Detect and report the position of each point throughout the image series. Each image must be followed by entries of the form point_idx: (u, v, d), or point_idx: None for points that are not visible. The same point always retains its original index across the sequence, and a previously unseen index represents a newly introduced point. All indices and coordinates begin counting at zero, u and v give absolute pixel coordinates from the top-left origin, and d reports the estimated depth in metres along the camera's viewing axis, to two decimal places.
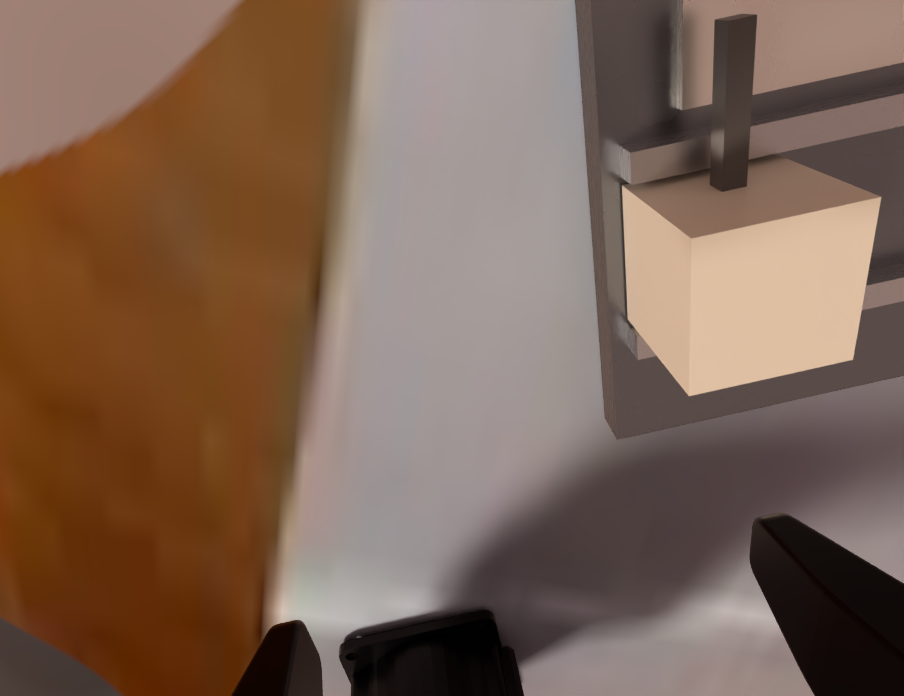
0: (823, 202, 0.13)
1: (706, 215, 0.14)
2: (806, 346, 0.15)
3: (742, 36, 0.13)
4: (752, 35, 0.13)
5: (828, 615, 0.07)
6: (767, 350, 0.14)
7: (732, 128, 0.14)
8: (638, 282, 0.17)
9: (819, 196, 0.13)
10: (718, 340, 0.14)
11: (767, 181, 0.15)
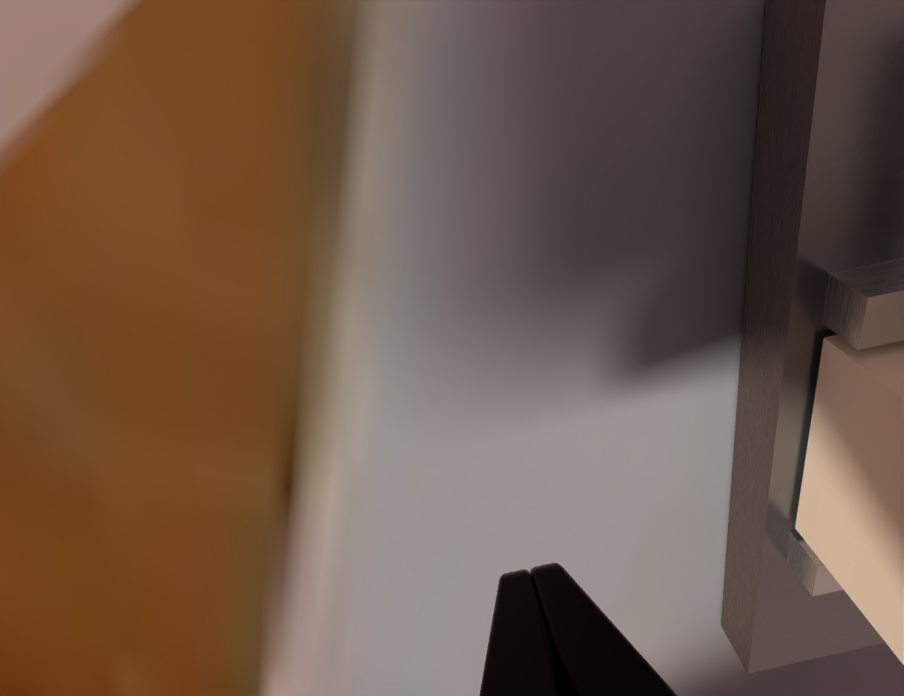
0: None
1: None
2: None
3: None
4: None
5: (562, 675, 0.07)
6: None
7: None
8: (843, 500, 0.10)
9: None
10: None
11: None
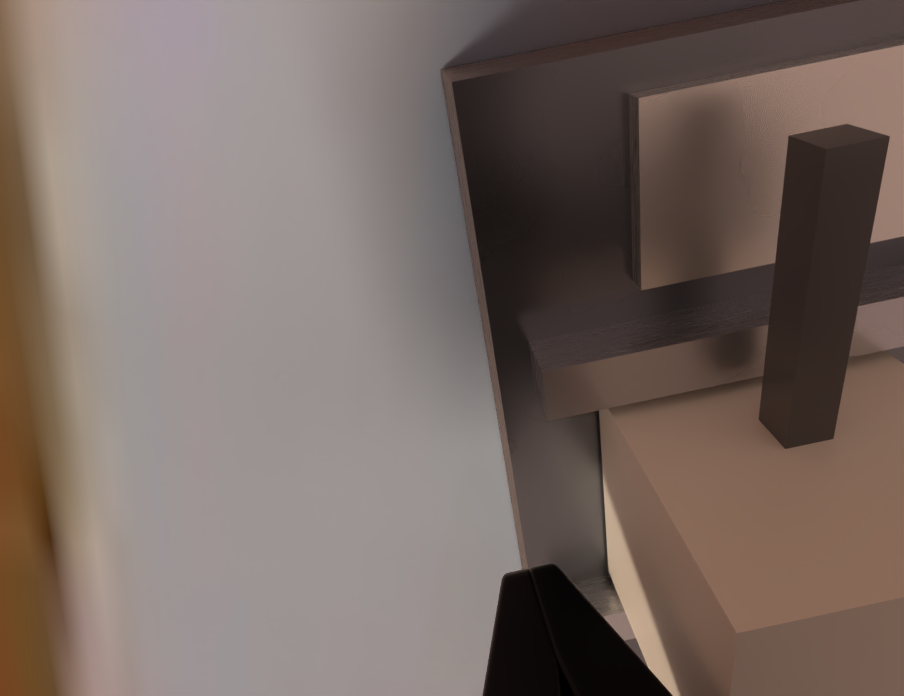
0: None
1: (762, 536, 0.07)
2: None
3: (854, 178, 0.06)
4: (870, 175, 0.06)
5: None
6: None
7: (816, 347, 0.07)
8: (625, 551, 0.10)
9: None
10: None
11: (872, 428, 0.08)
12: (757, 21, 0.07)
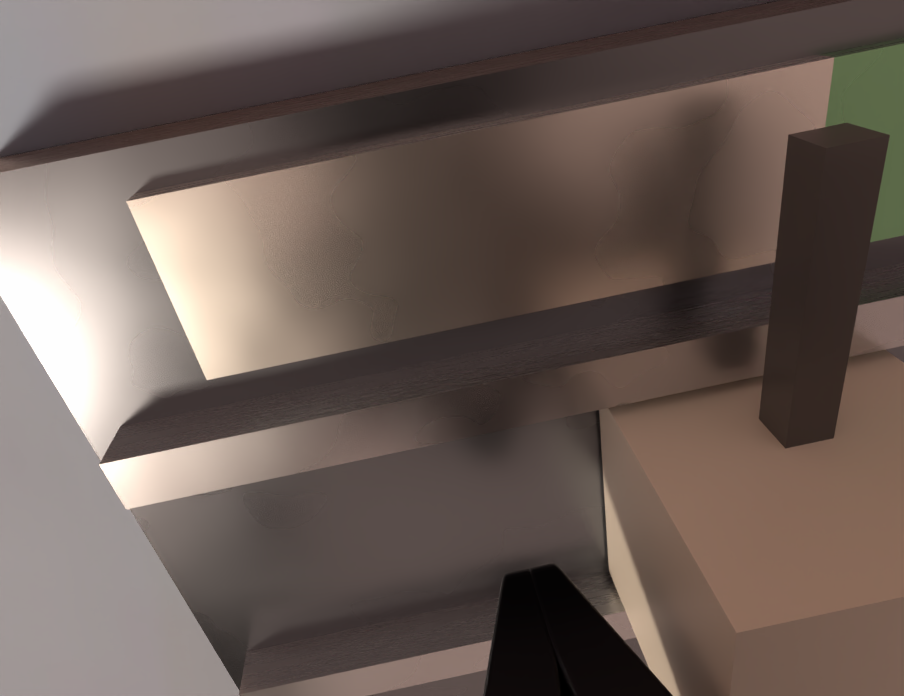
0: None
1: (763, 536, 0.07)
2: None
3: (853, 178, 0.06)
4: (870, 174, 0.06)
5: None
6: None
7: (815, 346, 0.07)
8: (625, 551, 0.10)
9: None
10: None
11: (873, 428, 0.08)
12: (248, 123, 0.07)
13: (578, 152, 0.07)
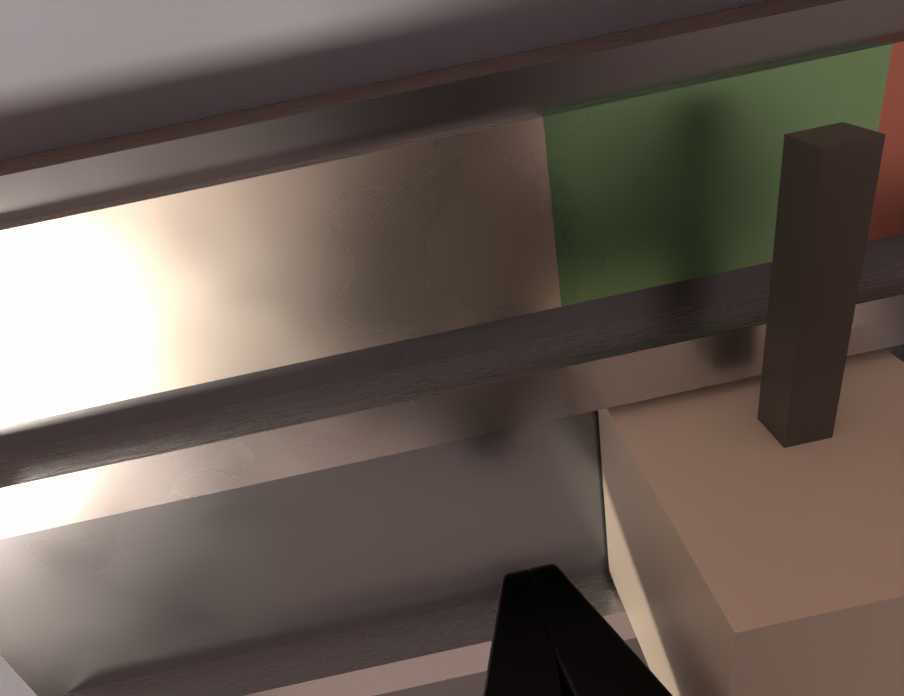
0: None
1: (761, 535, 0.07)
2: None
3: (849, 176, 0.06)
4: (865, 173, 0.06)
5: None
6: None
7: (813, 346, 0.07)
8: (625, 551, 0.10)
9: None
10: None
11: (871, 427, 0.08)
12: None
13: (293, 211, 0.07)
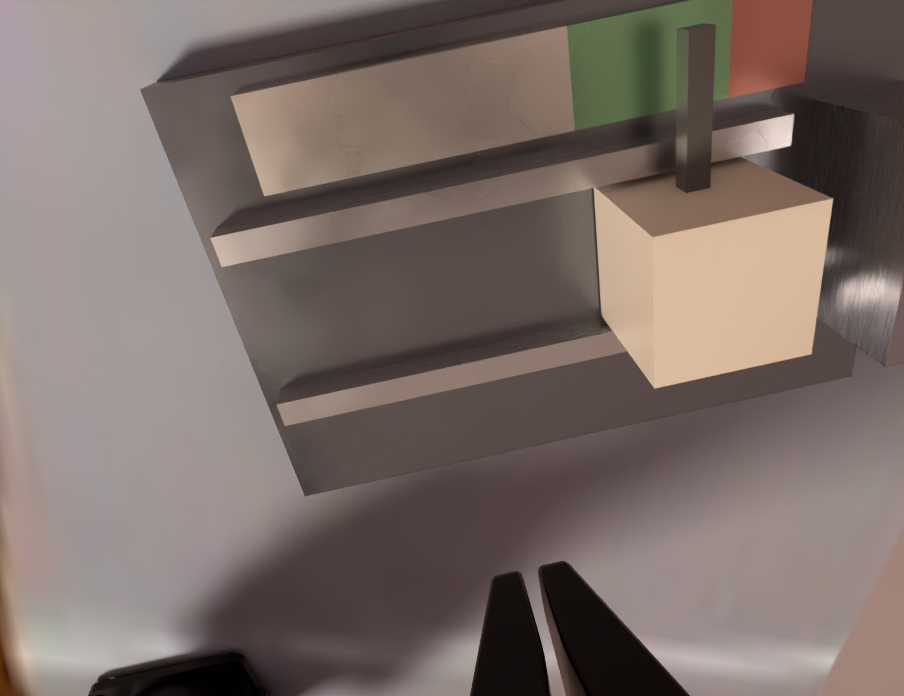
0: (779, 203, 0.14)
1: (668, 215, 0.14)
2: (766, 341, 0.15)
3: (702, 44, 0.14)
4: (711, 44, 0.14)
5: (571, 673, 0.07)
6: (728, 344, 0.15)
7: (695, 132, 0.15)
8: (609, 279, 0.17)
9: (775, 198, 0.14)
10: (681, 335, 0.15)
11: (729, 183, 0.15)
12: (288, 58, 0.15)
13: (446, 72, 0.15)
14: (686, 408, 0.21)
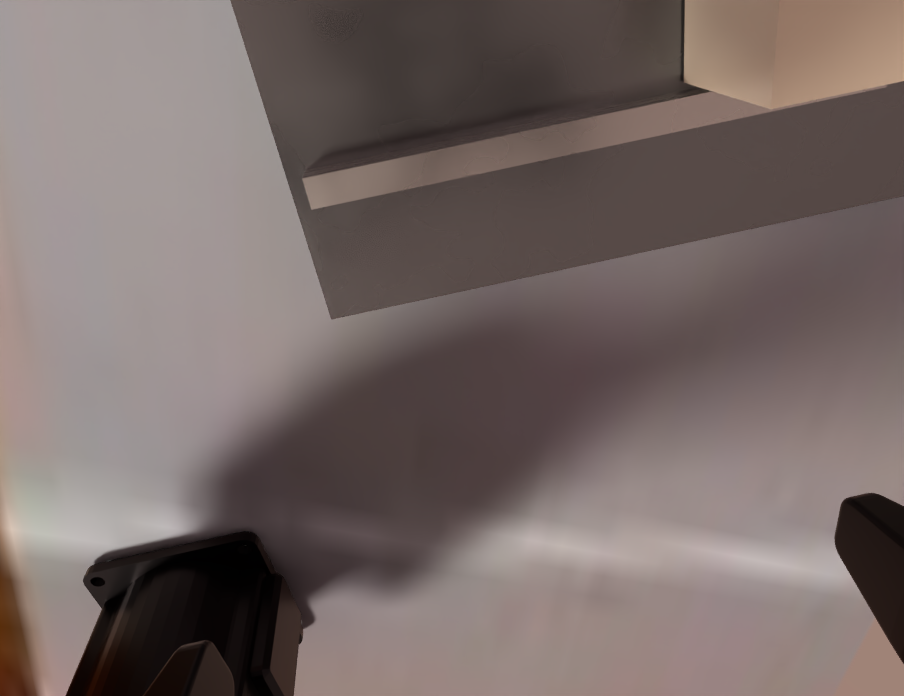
0: None
1: None
2: None
3: None
4: None
5: None
6: (866, 46, 0.12)
7: None
8: (702, 13, 0.14)
9: None
10: (810, 27, 0.12)
11: None
12: None
13: None
14: (771, 219, 0.18)
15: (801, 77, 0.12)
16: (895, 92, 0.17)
